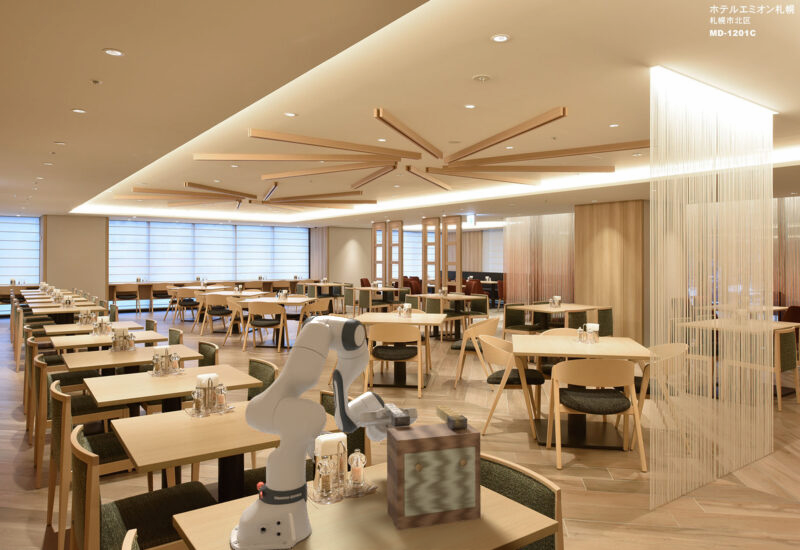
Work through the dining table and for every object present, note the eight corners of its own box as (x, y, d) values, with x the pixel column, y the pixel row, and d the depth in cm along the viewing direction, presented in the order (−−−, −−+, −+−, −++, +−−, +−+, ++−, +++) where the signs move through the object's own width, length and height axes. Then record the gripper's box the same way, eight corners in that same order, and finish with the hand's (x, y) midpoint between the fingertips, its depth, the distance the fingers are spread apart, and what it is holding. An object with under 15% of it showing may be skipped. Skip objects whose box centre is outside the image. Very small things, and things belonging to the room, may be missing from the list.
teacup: (300, 454, 216) (300, 430, 216) (337, 455, 215) (336, 430, 215) (293, 466, 204) (292, 440, 204) (331, 466, 203) (331, 440, 203)
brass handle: (452, 429, 162) (452, 420, 162) (433, 415, 178) (433, 406, 178) (467, 428, 163) (467, 418, 163) (447, 413, 179) (447, 405, 179)
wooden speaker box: (399, 533, 151) (398, 442, 151) (387, 512, 165) (386, 428, 164) (483, 520, 159) (482, 434, 158) (465, 501, 172) (464, 421, 171)
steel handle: (394, 427, 165) (394, 417, 165) (381, 412, 181) (381, 404, 181) (410, 425, 166) (410, 416, 166) (395, 411, 183) (395, 402, 183)
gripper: (354, 415, 187) (361, 403, 175) (410, 410, 192) (420, 399, 181) (356, 433, 184) (363, 423, 172) (412, 428, 189) (423, 417, 178)
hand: (392, 410), depth 176 cm, fingers open, 5 cm apart
